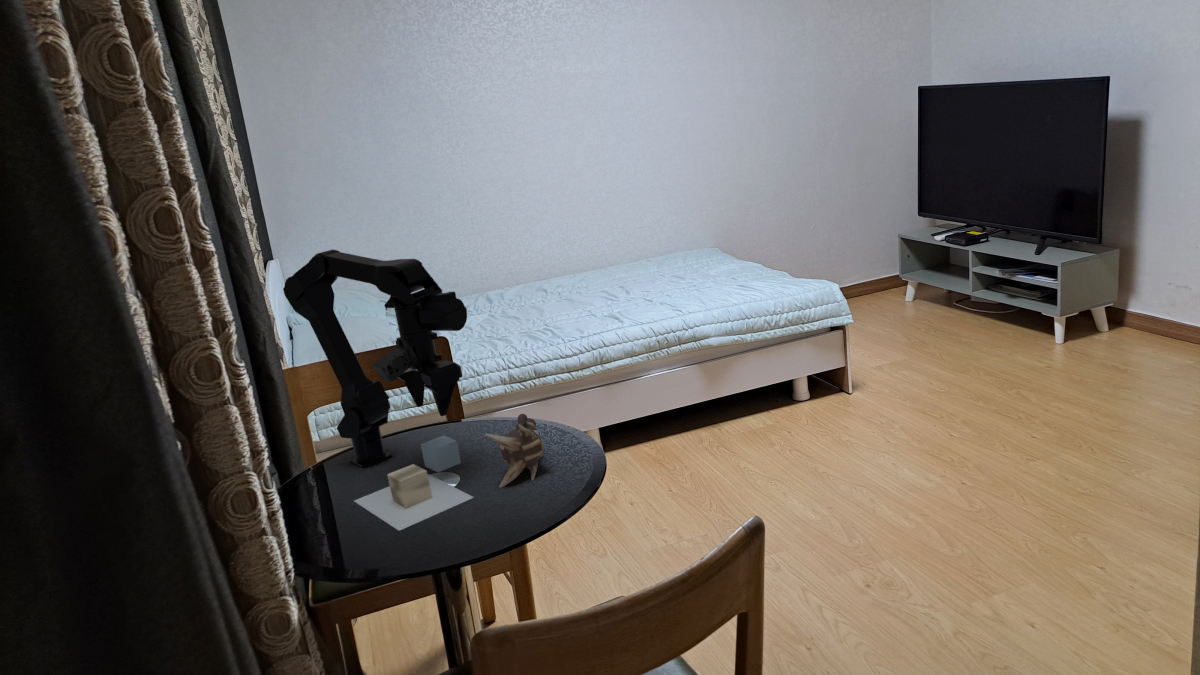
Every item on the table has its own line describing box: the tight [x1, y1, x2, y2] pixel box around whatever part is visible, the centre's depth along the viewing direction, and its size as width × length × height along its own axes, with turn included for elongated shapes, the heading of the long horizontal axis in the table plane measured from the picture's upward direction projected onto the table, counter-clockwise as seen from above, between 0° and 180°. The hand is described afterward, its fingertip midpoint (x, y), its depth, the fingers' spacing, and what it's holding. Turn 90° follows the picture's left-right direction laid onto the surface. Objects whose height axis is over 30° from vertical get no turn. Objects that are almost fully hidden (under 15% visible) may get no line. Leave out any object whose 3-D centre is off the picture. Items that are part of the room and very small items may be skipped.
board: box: [353, 473, 474, 532], centre depth 145 cm, size 18×14×1 cm
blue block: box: [420, 434, 462, 473], centre depth 157 cm, size 5×5×5 cm
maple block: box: [386, 463, 432, 508], centre depth 144 cm, size 5×5×5 cm
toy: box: [484, 413, 545, 488], centre depth 150 cm, size 11×8×15 cm
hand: (431, 410), depth 155 cm, fingers open, 9 cm apart
